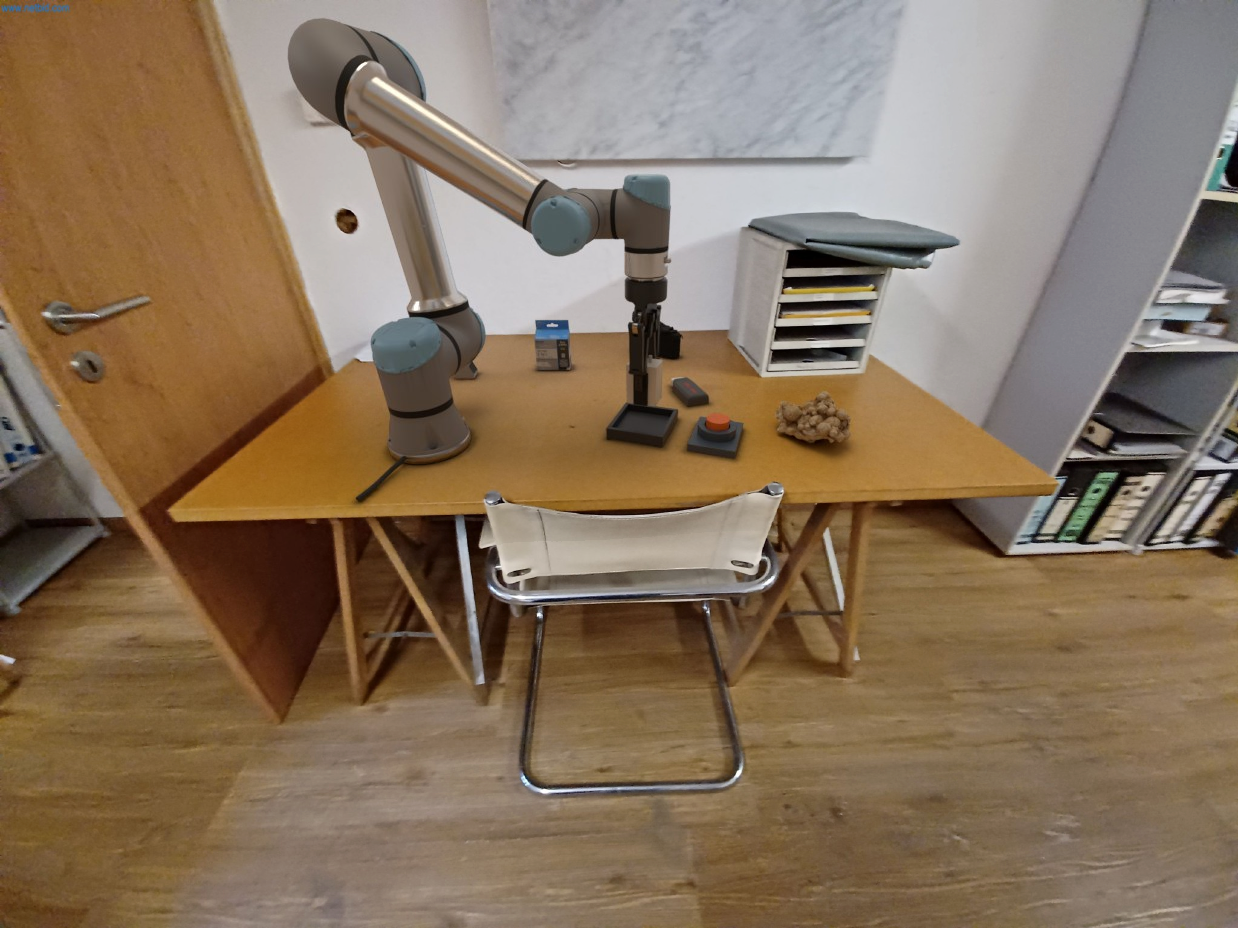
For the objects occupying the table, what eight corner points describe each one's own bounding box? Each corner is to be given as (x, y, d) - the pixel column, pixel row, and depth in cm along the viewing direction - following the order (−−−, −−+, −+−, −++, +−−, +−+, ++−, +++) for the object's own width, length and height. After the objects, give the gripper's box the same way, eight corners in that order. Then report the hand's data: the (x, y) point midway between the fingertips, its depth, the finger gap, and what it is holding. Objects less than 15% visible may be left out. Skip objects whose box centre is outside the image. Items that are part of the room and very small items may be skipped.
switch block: (734, 459, 93) (736, 443, 91) (686, 451, 95) (687, 435, 93) (742, 430, 102) (744, 414, 100) (699, 423, 105) (700, 408, 103)
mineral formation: (825, 417, 106) (869, 448, 93) (766, 433, 105) (802, 466, 92) (826, 382, 102) (872, 410, 89) (765, 398, 101) (802, 428, 88)
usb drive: (687, 407, 111) (688, 396, 110) (666, 386, 121) (667, 376, 119) (708, 404, 112) (709, 393, 111) (686, 384, 122) (687, 373, 121)
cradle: (662, 448, 96) (663, 437, 95) (606, 439, 100) (606, 428, 98) (677, 419, 106) (678, 409, 105) (626, 412, 110) (626, 401, 108)
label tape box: (536, 370, 130) (531, 324, 124) (539, 365, 134) (534, 319, 127) (570, 371, 130) (567, 324, 123) (572, 365, 133) (569, 319, 127)
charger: (655, 406, 97) (656, 360, 92) (626, 402, 98) (626, 357, 93) (661, 397, 100) (663, 352, 95) (633, 393, 102) (633, 349, 97)
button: (726, 433, 95) (727, 425, 94) (703, 429, 96) (704, 421, 95) (730, 423, 98) (731, 415, 97) (708, 419, 99) (708, 411, 98)
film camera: (691, 350, 142) (693, 319, 137) (675, 361, 135) (677, 328, 130) (644, 341, 149) (645, 311, 144) (627, 351, 142) (628, 319, 137)
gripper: (653, 289, 79) (650, 421, 91) (678, 267, 93) (673, 384, 105) (608, 286, 81) (611, 415, 93) (640, 265, 95) (639, 380, 107)
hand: (644, 398), depth 99 cm, fingers closed on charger, 4 cm apart
